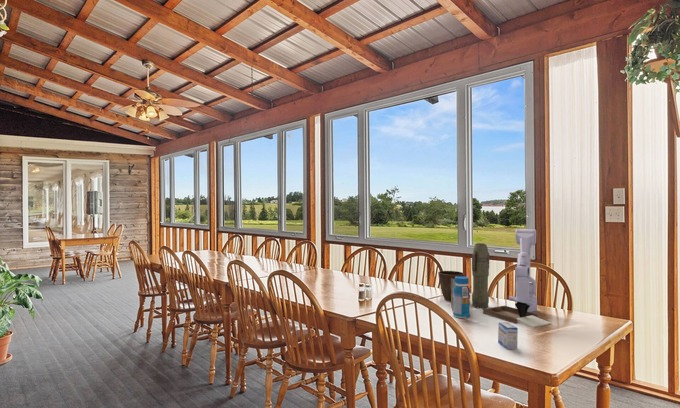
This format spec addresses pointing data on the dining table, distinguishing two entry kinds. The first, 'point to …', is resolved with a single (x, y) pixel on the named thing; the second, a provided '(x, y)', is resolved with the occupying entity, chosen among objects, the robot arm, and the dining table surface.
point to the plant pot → (447, 282)
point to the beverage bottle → (461, 297)
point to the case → (505, 313)
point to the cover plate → (532, 321)
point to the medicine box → (507, 335)
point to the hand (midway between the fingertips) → (522, 318)
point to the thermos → (480, 276)
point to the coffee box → (452, 291)
